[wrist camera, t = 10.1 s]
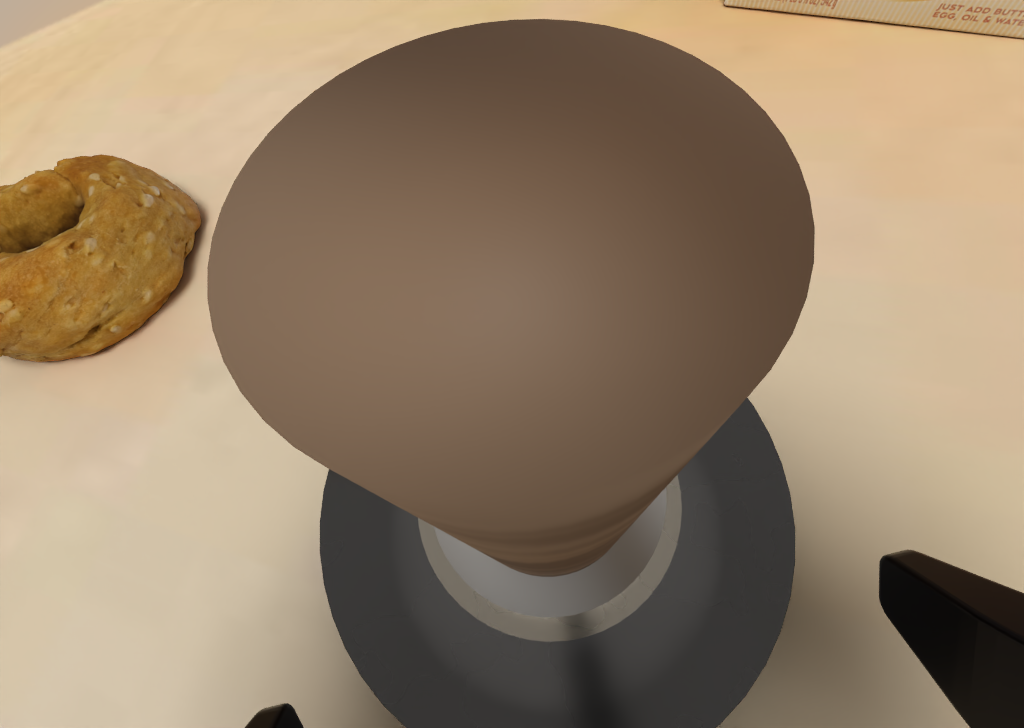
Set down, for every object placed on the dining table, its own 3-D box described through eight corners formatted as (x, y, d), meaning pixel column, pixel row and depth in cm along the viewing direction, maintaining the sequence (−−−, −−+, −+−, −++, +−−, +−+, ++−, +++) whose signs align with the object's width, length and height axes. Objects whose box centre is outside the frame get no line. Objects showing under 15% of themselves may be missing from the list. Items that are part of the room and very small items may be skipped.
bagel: (250, 266, 23) (175, 190, 19) (28, 425, 21) (-115, 380, 17) (164, 163, 27) (86, 81, 23) (-31, 288, 25) (-159, 223, 20)
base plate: (397, 868, 13) (381, 896, 12) (300, 393, 20) (283, 379, 19) (886, 645, 14) (915, 649, 13) (643, 261, 21) (648, 241, 20)
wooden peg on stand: (564, 674, 14) (562, 1098, 2) (394, 507, 16) (-49, 269, 4) (703, 479, 16) (1116, 126, 4) (533, 355, 18) (474, -93, 6)
